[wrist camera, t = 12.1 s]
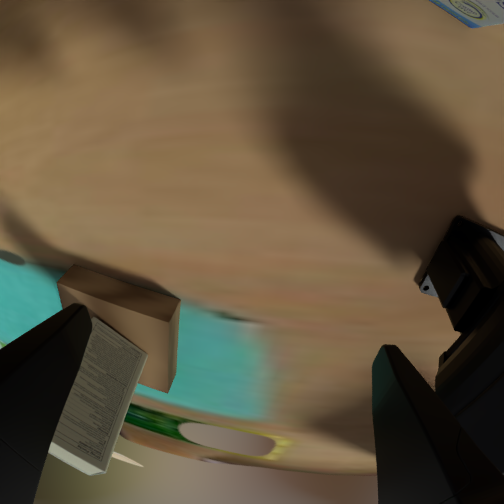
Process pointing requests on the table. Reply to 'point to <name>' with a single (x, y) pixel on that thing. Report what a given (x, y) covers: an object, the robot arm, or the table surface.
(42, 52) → the table surface
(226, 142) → the table surface
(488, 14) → the medicine box
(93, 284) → the walnut block
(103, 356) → the skincare box
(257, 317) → the table surface
